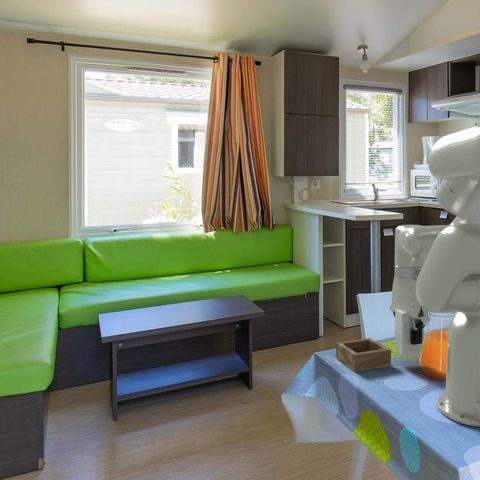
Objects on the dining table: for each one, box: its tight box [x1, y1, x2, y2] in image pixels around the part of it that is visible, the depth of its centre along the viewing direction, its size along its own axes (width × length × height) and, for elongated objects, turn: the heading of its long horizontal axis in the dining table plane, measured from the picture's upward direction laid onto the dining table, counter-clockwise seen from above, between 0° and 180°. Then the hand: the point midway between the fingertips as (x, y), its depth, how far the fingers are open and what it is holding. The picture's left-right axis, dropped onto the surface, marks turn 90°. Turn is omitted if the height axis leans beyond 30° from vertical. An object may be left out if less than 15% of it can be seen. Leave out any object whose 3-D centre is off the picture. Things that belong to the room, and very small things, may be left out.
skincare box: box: [394, 309, 425, 359], centre depth 114 cm, size 6×4×12 cm
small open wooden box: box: [335, 337, 392, 373], centre depth 117 cm, size 9×11×4 cm
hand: (409, 340), depth 115 cm, fingers closed on skincare box, 4 cm apart
